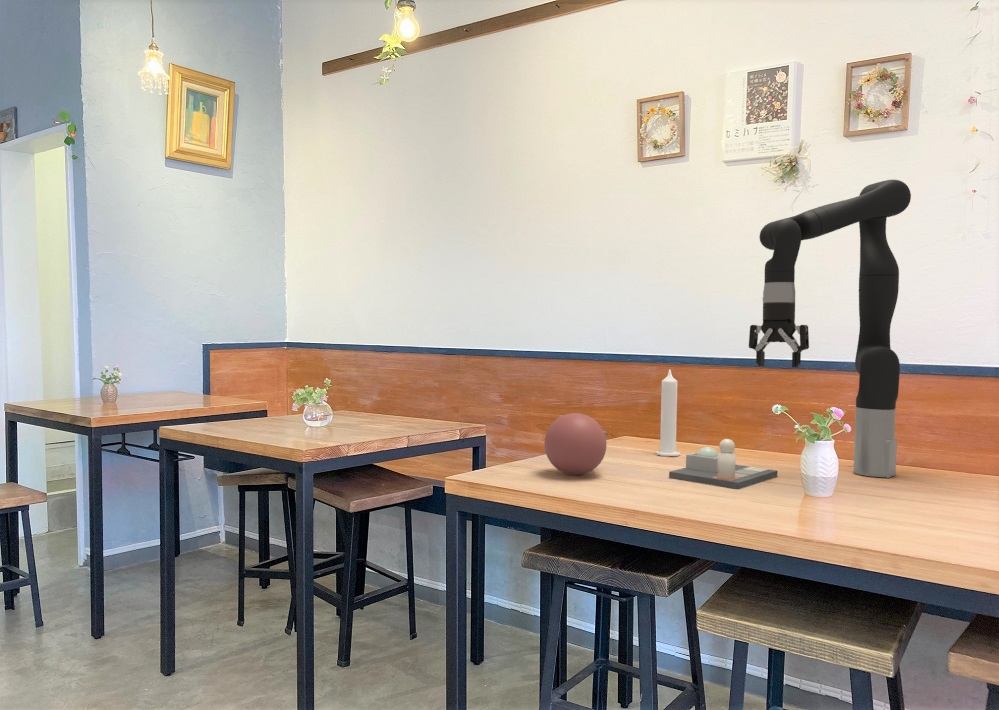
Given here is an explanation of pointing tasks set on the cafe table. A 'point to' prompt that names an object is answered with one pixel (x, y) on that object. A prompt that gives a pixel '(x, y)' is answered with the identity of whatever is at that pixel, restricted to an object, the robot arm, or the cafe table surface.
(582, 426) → the mauve rubber ball
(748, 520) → the cafe table surface
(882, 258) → the robot arm
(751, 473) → the game board
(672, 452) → the candle
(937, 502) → the cafe table surface
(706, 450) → the dome
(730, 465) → the pawn
